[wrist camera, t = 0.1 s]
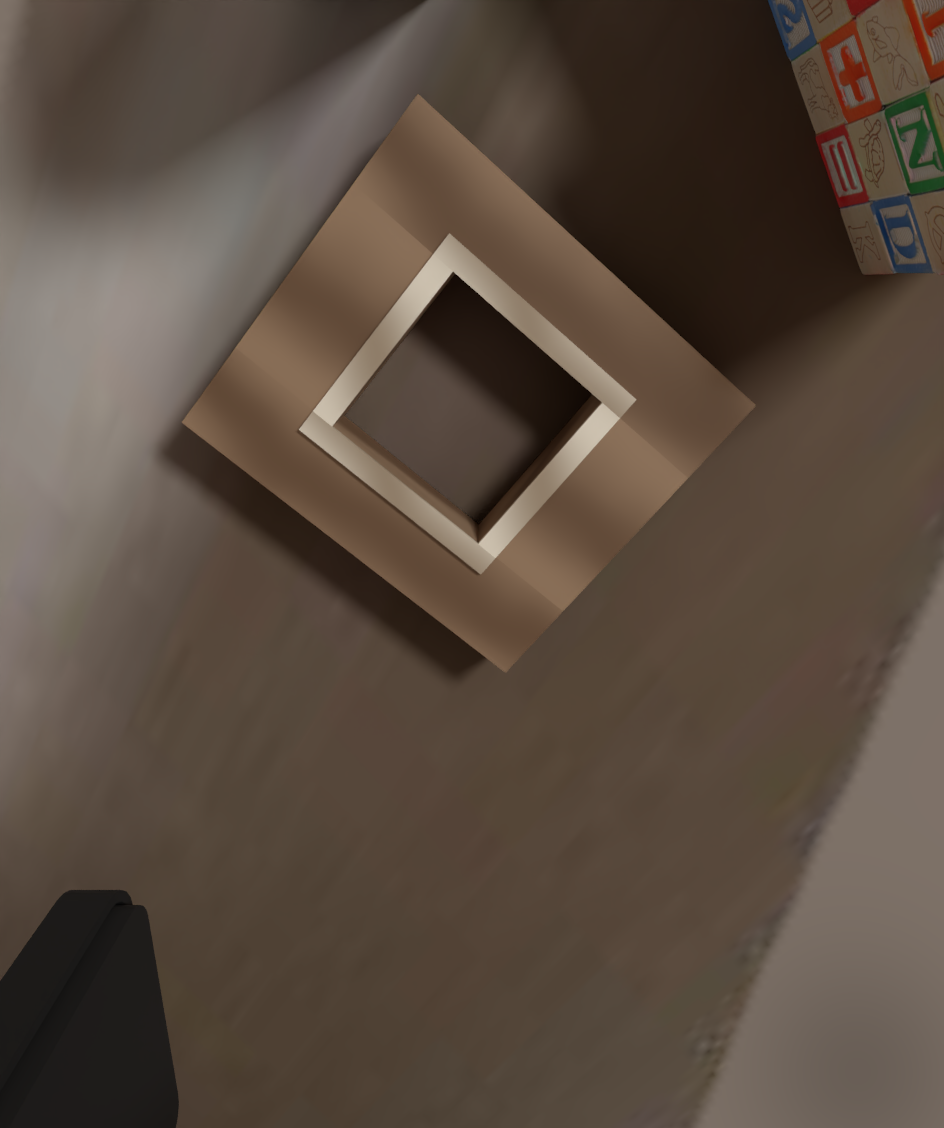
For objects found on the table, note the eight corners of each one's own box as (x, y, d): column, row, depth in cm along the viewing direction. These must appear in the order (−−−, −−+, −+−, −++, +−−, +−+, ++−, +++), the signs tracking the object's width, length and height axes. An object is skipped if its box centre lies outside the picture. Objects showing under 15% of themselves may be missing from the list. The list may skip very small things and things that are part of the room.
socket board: (423, 110, 34) (417, 92, 31) (735, 396, 37) (757, 406, 34) (204, 412, 38) (179, 423, 35) (504, 646, 41) (505, 674, 38)
